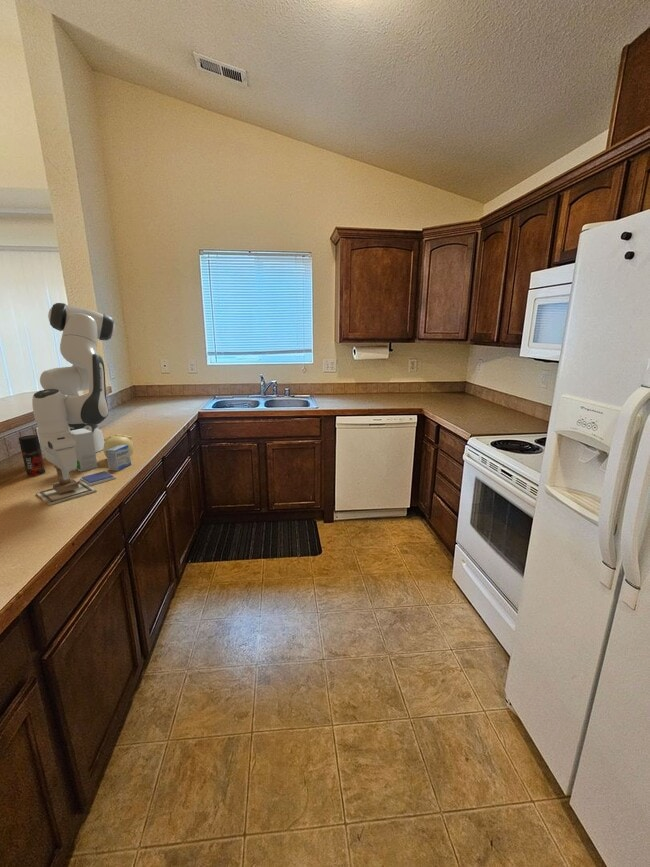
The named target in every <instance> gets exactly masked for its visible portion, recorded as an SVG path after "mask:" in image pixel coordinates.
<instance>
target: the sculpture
mask: <svg viewBox="0 0 650 867" xmlns="http://www.w3.org/2000/svg"><path fill="white" fill-rule="evenodd" d="M118 445H128V447H129V453H130V457H131V456H132V455H133V453H134V442H133V437H132V435H126V434H121V433H116V434H114V435H110V436H107V437H105V438H104V447H103V454H104V456H105V458H107V456H106V450H108V449H110V448H113V447H115V446H118Z"/></svg>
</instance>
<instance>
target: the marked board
mask: <svg viewBox="0 0 650 867" xmlns="http://www.w3.org/2000/svg"><path fill="white" fill-rule="evenodd" d="M77 482H78V485H79V488H77V489H73V490H70V491H66V492H63V493H58V492H57V491H55V490H54V489H53V487H52V488H49V489H45V490H41V491H38V492H35V494H36V495H37V496H38V497H39V498H40V500H43V501H44V503H46V504H47V505H48V506H50V507H51V506H53V505H56V504H61V503H63V502H67V501H70V500H73V499H77V498H81V497H84V496H87V495H90V494H93V493H96V492H97V490H96V489H95V488H93V487H92V485H91V486H89V485H87V484H86V483H84V482H83V481H81V480H78V481H77Z"/></svg>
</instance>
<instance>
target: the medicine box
mask: <svg viewBox="0 0 650 867" xmlns="http://www.w3.org/2000/svg"><path fill="white" fill-rule="evenodd" d="M106 456H107V457H106ZM106 456H105V457H106V460H107V466H108V470H109V471H114V472H115V471H116V472H117V471H118V472H119V471H121V470H123V469H124V468H126V467H127V468H128V467H129V466H131V465H132V460H131V456H130V453H129V447H128V445H118V446H115V447H113V448H110V449H108V450H106Z"/></svg>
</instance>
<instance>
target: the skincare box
mask: <svg viewBox="0 0 650 867" xmlns="http://www.w3.org/2000/svg"><path fill="white" fill-rule="evenodd" d="M70 432H71V435H72V437H73V438H74V440H75V442H76V446H73V447H74V448H75V451H76V458H77V468H76V469H75V470H77V471H80V472H86V471H89V470H93V469H96V468H98V462H97V455H96V453H97V452H95V446H94V439H93V432H91V431H89V430H86V429H83V428H82V429H77V430H72V431H70Z"/></svg>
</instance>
